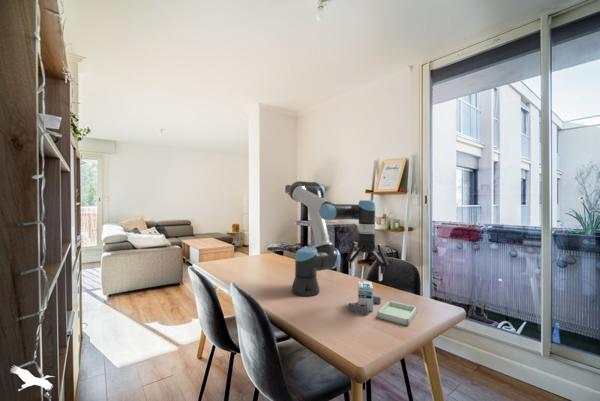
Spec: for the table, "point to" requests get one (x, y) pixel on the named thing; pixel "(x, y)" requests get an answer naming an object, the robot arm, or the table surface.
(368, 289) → the light bulb box
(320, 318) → the table surface
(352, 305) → the grey bars
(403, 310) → the tray
